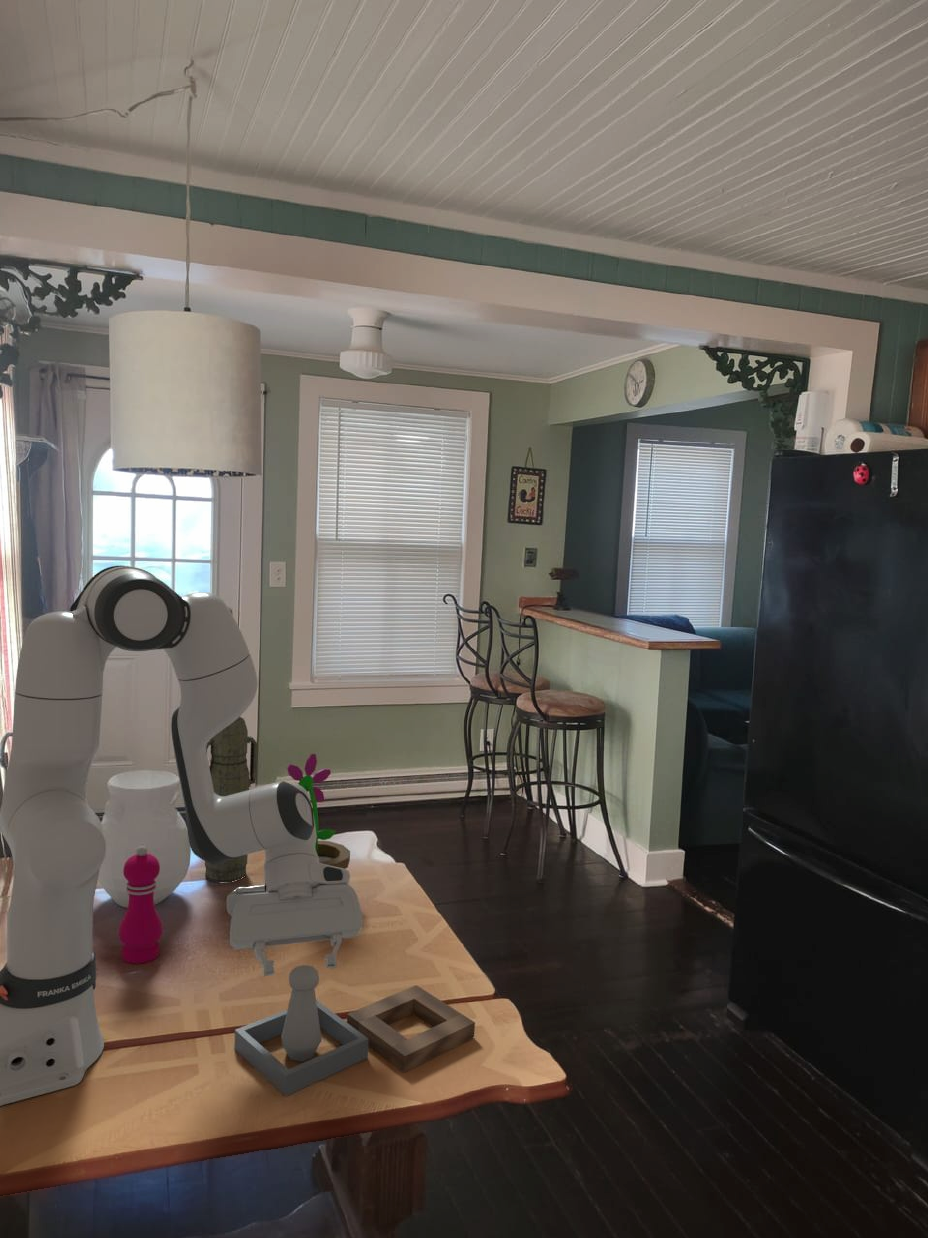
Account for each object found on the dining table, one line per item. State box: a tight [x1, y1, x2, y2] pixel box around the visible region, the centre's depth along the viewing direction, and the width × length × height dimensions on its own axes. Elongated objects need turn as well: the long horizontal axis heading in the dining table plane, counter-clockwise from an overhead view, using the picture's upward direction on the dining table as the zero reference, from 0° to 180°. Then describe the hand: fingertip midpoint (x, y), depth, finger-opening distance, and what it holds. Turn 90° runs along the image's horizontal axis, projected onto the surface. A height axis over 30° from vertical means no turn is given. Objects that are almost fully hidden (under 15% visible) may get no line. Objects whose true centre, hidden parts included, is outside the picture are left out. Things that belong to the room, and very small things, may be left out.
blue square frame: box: [233, 999, 369, 1097], centre depth 132 cm, size 14×14×3 cm
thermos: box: [204, 716, 258, 884], centre depth 192 cm, size 9×12×35 cm
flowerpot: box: [287, 753, 351, 870], centre depth 182 cm, size 14×14×30 cm
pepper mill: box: [118, 846, 163, 965], centre depth 157 cm, size 7×7×20 cm
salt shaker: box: [281, 964, 322, 1063], centre depth 131 cm, size 6×6×13 cm
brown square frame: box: [346, 984, 476, 1073], centre depth 138 cm, size 14×14×2 cm
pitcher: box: [97, 769, 192, 909], centre depth 179 cm, size 19×18×25 cm
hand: (300, 971), depth 135 cm, fingers open, 8 cm apart
